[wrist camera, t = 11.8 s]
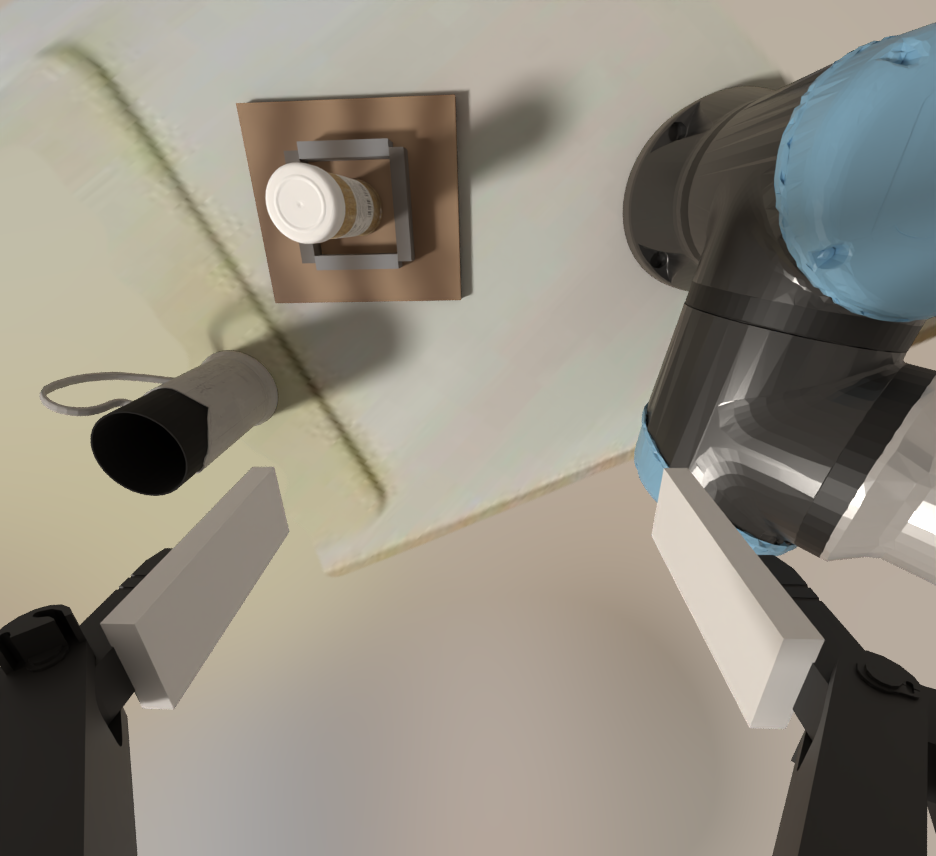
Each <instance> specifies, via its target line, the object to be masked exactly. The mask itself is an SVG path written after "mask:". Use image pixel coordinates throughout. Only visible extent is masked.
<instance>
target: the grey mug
mask: <svg viewBox="0 0 936 856" xmlns="http://www.w3.org/2000/svg"><path fill="white" fill-rule="evenodd" d="M100 380H131V381H144V382H153V383H162V385H160V386H158V387H156V388H154V389H152V390H150V391H148V392H147V393H146V394H144V395H143V396H142V397H141V398H138V399H137V400H134V401H131V400H127V399H114V400H111V401H108V402H106V403H103V404H100V405H97V406H93V407H68V406H63V405H60V404H57V403H55V402H53V401H51V400H50V399H49V398H48V397H47V396H46V395H47V394H48V393H50V392H52V391H54V390H56V389H59V388H62V387H66V386H69V385H72V384H77V383H83V382H89V381H100ZM40 400H41V402H42V404H43V405H44V406H46V407H47V408H48V409H50V410H52V411H54V412H57V413H60V414H65V415H72V416H89V415H94V414H99V413H102V412H105V411H107V410H109V409H111V408H114V407H118V406H122V407H121V408H118V409H116V410H115V411H112V412H110V413H109V414H107V415H105V416H103V417H102V418H100V419H99V420H98V421H97V422H96V424H95V426H94V427H93V429H92V433H91V448H92V451H93V454H94V457H95V459H96V460H97V462H98V464H99V465H100V467H101V468H102V469H103V471H104V472H105V473H106V474H107V475H109V477H110V478H112V479H113V480H114V481H115V482H117V483H118V484H120V485H122V486H123V487H125V488H127V489H129V490H131V491H133V492H137V493H140V494H144V495H151V496H152V495H153V496H159V495H165V494H169V493H171V492H173V491H175V490H177V489H178V488H179V487H180V486H181V485H182V484H183V483H185V482H186V481H187V480H188V479H189V478H191V477H192V476H193V475H194V474H195V473H200V472H201V471H202V470H203V469H204V468H206V467H207V466H208V465H209V464H210V463H211V462H213V461H214V460H215V459H216V458H217V457H218V456H220V455H221V454H222V453H223V452H224V451H225V450H227V449H228V448H229V447H230V446H231V445H232V444H233V443H235V442H236V441H237V440H238V439H239V438H240V437H242V436H243V435H244V434H245V433H246V432H247V431H249V430H250V429H251V428H252V427H253V426H257V425H260V424H262V423H264V422H265V421H267V420H268V419H269V418H270V417H271V416H272V415H273V413H274V412H275V409H276V407H277V403H278V392H277V387H276V384H275V381H274V380H273V378H272V376H271V374H270V373H269V372H268V370H267V369H266V368H265V367H264V366H263V365H262V364H261V363H260V362H258V361H257V360H256V359H254V358H253V357H251V356H249V355H247V354H244V353H241V352H237V351H220V352H217V353H214V354H212V355H210V356H209V357H207V358H206V359H205V360H204V361H203V363H202V364H201V365H200V366H198V367H196V368H194V369H192V370H190V371H188V372H186V373H184V374H182V375H180V376H178V377H176V378H172V377H162V376H154V375H145V374H135V373H123V372H103V373H91V374H83V375H77V376H72V377H67V378H64V379H61V380H57V381H54V382H52V383H50V384H48V385H46V386H44V387H43V389H42V390H41V392H40Z"/></svg>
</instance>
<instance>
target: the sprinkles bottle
mask: <svg viewBox="0 0 936 856" xmlns="http://www.w3.org/2000/svg"><path fill="white" fill-rule="evenodd" d="M266 206H267V210H268V213H269V215H270V218H271V220H272V221H273V223H274V224H275V226H276V227H277V228H278V230H279V231H280V232H281V233H283V234H284V235H285V236H286V237H288V238H289V239H291V240H293V241H296V242H299V243H304V244H314V243H321V242H325V241H327V240H329V239H336V238H344V237H353V236H365V235H368V234H370V233H372V232H374V231H375V229H376V228H377V227H378V226H379V224H380V222H381V219H382V214H383V212H382V204H381V199H380V197H379V195H378V193H377V192H376V190H375V189H374V188H373V187H371V185H370V184H368V183H366V182H364V181H362V180H358V179H356V180H355V179H350V178H347V177H344V176H340V175H337V174H333V173H329V172H326V171H324V170H323V169H321V168H319V167H317V166H314V165H310V164H306V163H299V162H294V163H288V164H285V165H283V166H281V167H279V168H278V169H277V170H276V171H275V172H274V173H273V174H272V176H271V177H270V179H269V181H268V184H267V188H266Z"/></svg>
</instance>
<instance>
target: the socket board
mask: <svg viewBox="0 0 936 856" xmlns="http://www.w3.org/2000/svg"><path fill="white" fill-rule="evenodd" d="M236 105H237V111H238V116H239V121H240V126H241V131H242V136H243V141H244V146H245V151H246V156H247V161H248V166H249V171H250V176H251V181H252V186H253V191H254V196H255V201H256V206H257V212H258V217H259V222H260V227H261V232H262V237H263V242H264V247H265V252H266V257H267V262H268V267H269V272H270V277H271V282H272V287H273V292H274V297H275V302H276V303H313V302H373V301H433V300H461V269H460V234H459V199H458V164H457V129H456V97H455V95H430V96H406V97H381V98H356V99H332V100H307V101H283V102H258V103H236ZM294 162H299V163H306V164H310V165H314V166H317V167H319V168H321V169H323V170H324V171H326V172H329V173H333V174H337V175H340V176H344V177H347V178H350V179H355V180H356V179H358V180H362V181H364V182H366V183H368V184H370V185H371V187H373V188H374V189H375V190H376V192H377V193H378V195H379V197H380V199H381V204H382V212H383V214H382V219H381V222H380V224H379V226H378V227H377V228H376V229H375V231H374V232H372V233H370V234H368V235H365V236H353V237H344V238H336V239H329V240H327V241H325V242H321V243H314V244H304V243H299V242H296V241H293V240H291V239H289V238H288V237H286V236H285V235H284V234H283V233H281V232H280V231H279V230H278V228H277V227H276V226H275V224H274V223H273V221H272V220H271V218H270V215H269V213H268V210H267V206H266V188H267V184H268V181H269V179H270V177H271V176H272V174H273V173H274V172H275V171H276V170H277V169H278V168H279V167H281V166H283V165H285V164H288V163H294Z"/></svg>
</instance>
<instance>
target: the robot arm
mask: <svg viewBox="0 0 936 856" xmlns="http://www.w3.org/2000/svg"><path fill="white" fill-rule="evenodd" d="M623 224H624V231H625V235H626V239H627V242H628V245H629V247H630V250H631V252H632V254H633V255H634V257H635V259H636V260H637V262H638V263H639V264H640V266H641V267H642V268H643V269H644V270H645V271H646V272H647V273H648V274H650V275H651V276H652V277H654V278H655V279H657V280H658V281H660V282H662V283H664V284H666V285H669V286H672V287H675V288H678V289H681V290H685V291H689V293H688V296H687V298H686V301H685V303H684V306H683V309H682V311H681V314H680V317H679V320H678V323H677V325H676V328H675V331H674V334H673V336H672V339H671V342H670V345H669V347H668V350H667V353H666V356H665V358H664V361H663V364H662V367H661V370H660V372H659V375H658V378H657V381H656V383H655V386H654V389H653V392H652V394H651V397H650V400H649V402H648V403H647V405H646V406H645V407H644V410H643V413H642V427H641V430H640V434H639V437H638V441H637V444H636V448H635V453H634V461H635V465H636V468H637V470H638V474H639V478H640V480H641V482H642V484H643V485H644V487H645V488H646V490H647V491H648V493H649V494H650V495H651V496H652V498H653V499H654V500H655V501H656V502H657V508H656V514H655V519H654V524H653V530H652V535H651V536H652V538H653V540H654V542H655V544H656V546H657V548H658V549H659V552H660V553H661V555H662V557H663V559H664V561H665V563H666V565H667V567H668V569H669V571H670V573H671V575H672V577H673V579H674V581H675V583H676V585H677V587H678V589H679V591H680V592H681V595H682V596H683V598H684V600H685V602H686V604H687V606H688V608H689V610H690V612H691V614H692V616H693V618H694V620H695V622H696V624H697V626H698V628H699V629H700V632H701V634H702V636H703V638H704V640H705V642H706V643H707V645H708V647H709V649H710V651H711V653H712V655H713V657H714V659H715V661H716V663H717V665H718V667H719V669H720V671H721V673H722V675H723V677H724V679H725V680H726V683H727V684H728V686H729V688H730V690H731V692H732V694H733V696H734V698H735V700H736V702H737V704H738V706H739V708H740V710H741V712H742V714H743V716H744V718H745V720H746V722H747V724H748V726H749V727H750V728H768V729H769V728H770V729H786V727H787V725H788V722H789V720H790V718H791V716H792V714H793V711H794V712H795V714H796V716H797V717H798V719H799V720H800V722H801V724H802V725H803V727H804V728H805V731H804V734H803V736H802V738H801V740H800V742H799V744H798V746H797V749H796V751H795V753H794V755H793V757H792V760H791V761H793V762H794V763H795V765H794V770H793V773H792V778H791V782H790V786H789V790H788V794H787V798H786V803H785V806H784V810H783V814H782V818H781V822H780V827H779V831H778V835H777V839H776V843H775V847H774V851H773V855H772V856H927V806H928V810H929V813H930V816H931V819H932V823H933V826H934V829H935V832H936V689H932V688H929V687H925V686H922V685H920V684H919V682H918V681H917V680H916V679H915V677H913V676H912V675H911V674H910V673H909V672H907V671H906V670H905V669H904V668H902V667H901V666H900V665H898V664H896V663H894V662H893V661H891V660H889V659H887V658H885V657H884V656H881V655H878V654H875V653H872V652H869V651H865V650H864V649H863V648H862V647H861V646H860V644H858V642H857V641H856V640H855V639H854V637H853V636H852V635H851V634H850V633H849V632H848V631H847V629H846V628H845V627H844V626H843V625H842V624H841V623H840V621H839V620H838V619H837V618H836V617H835V616H834V615H833V613H832V612H831V611H830V610H829V609H828V608H827V606H825V604H824V603H823V602H822V601H819V598H818V597H817V595H816V594H815V593H814V592H813V590H812V589H811V588H808V586H807V584H806V582H805V581H804V580H803V579H802V578H801V577H800V576H799V574H798V573H797V572H796V571H795V570H794V569H793V568H792V567H790V566H789V565H787V564H786V563H785V562H783V561H781V560H780V559H779V558H777V557H776V556H779V555H782V554H784V553H786V552H788V551H790V550H793V549H795V548H796V547H797V546H798V547H800V548H802V549H804V550H806V551H808V552H810V553H812V554H814V555H815V556H817V557H819V558H821V559H823V560H825V561H834V560H843V559H852V558H860V557H873V558H881V559H883V560H885V561H887V562H889V563H891V564H893V565H895V566H897V567H899V568H901V569H903V570H906V571H908V572H909V573H911V574H914V575H916V576H918V577H920V578H922V579H924V580H926V581H928V582H930V583H932V584H934V585H936V371H935V370H931V369H927V368H923V367H919V366H915V365H911V364H907V363H905V362H904V361H903V359H904V357H905V355H906V352H907V351H908V350H909V348H910V346H911V345H912V343H913V341H914V340H915V338H916V336H917V335H918V333H919V331H920V329H921V328H922V326H923V324H924V323H925V321H926V320H927V319H929V318H932V317H935V316H936V23H932V24H930V25H927V26H924V27H921V28H918V29H915V30H912V31H909V32H906V33H904V34H901V35H897V36H889V37H885V38H883V39H882V40H881V41H873V42H870V43H868V44H866V45H863V46H860V47H858V48H857V49H856V50H853V51H851V52H849V53H847V54H846V55H845V56H844V57H842V58H841V59H840V60H838V61H835V62H834V63H833V64H831V65H828V66H826V67H824V68H823V69H820V70H818V71H816V72H814V73H812V74H810V75H808V76H805V77H803V78H801V79H799V80H797V81H795V82H793V83H791V84H789V85H786V86H784V87H782V88H780V89H778V90H772V89H768V88H763V87H756V86H743V87H734V88H729V89H724V90H720V91H717V92H714V93H712V94H709V95H707V96H705V97H703V98H701V99H699V100H697V101H695V102H693V103H692V104H690V105H688V106H686V107H685V108H683V109H682V110H680V111H679V112H677V113H676V114H674V115H673V116H672V117H671V118H669V119H668V120H667V121H666V122H665V123H664V124H663V125H662V126H661V127H660V128H659V129H658V130H657V131H656V132H655V133H654V134H653V135H652V137H651V138H650V139H649V140H648V142H647V143H646V144H645V146H644V148H643V149H642V151H641V152H640V154H639V156H638V158H637V159H636V161H635V164H634V166H633V168H632V170H631V173H630V176H629V179H628V182H627V186H626V190H625V194H624V201H623ZM288 533H289V528H288V524H287V520H286V515H285V511H284V507H283V502H282V498H281V494H280V490H279V485H278V481H277V477H276V473H275V468H274V467H252V468H251V469H250V470H249V471H248V472H247V473H246V474H245V475H244V476H243V477H242V478H241V479H240V480H239V481H238V482H237V483H236V484H235V485H234V486H233V487H232V488H231V489H230V490H229V491H228V492H227V493H226V494H225V495H224V497H223V498H222V499H221V500H220V501H219V502H218V503H217V504H216V505H215V506H214V507H213V508H212V509H211V510H210V511H209V512H208V513H207V514H206V515H205V516H204V517H203V518H202V519H201V520H200V521H199V522H198V523H197V524H196V526H194V527H193V528H192V529H191V530H190V531H189V532H188V534H187V535H186V536H185V537H184V538H183V539H182V540H181V541H180V542H179V543H178V544H177V545H176V546H175V547H174V548H171V549H170V548H165V549H163V550H162V551H160V552H159V553H157V554H156V555H154V556H152V557H151V558H149V559H148V560H146V561H145V562H144V563H143V564H142V565H141V566H140V567H139V568H138V569H137V570H136V571H135V572H134V573H133V574H132V575H131V578H128V579H126V581H125V582H123V583H122V584H121V586H119V589H118V590H115V591H114V592H113V593H112V594H111V595H110V596H109V597H108V598H107V599H106V600H105V601H104V602H103V603H102V604H101V605H100V606H99V607H98V608H97V609H96V610H95V611H94V612H93V613H92V614H91V615H90V616H89V617H88V618H87V619H86V620H85V621H84V622H83V623H82V624H81V625H80V626H79V624H78V622H77V620H76V618H75V617H74V615H73V613H72V611H71V609H70V607H67V606H64V605H49V606H46V607H42V608H38V609H35V610H32V611H30V612H28V613H26V614H24V615H21V616H19V617H17V618H16V619H15V620H13V621H11V622H10V623H8V624H7V625H5V626H4V627H2V629H0V856H137V844H136V830H135V818H134V817H135V816H134V802H133V789H132V774H131V761H130V747H129V734H128V720H127V715H126V713H125V711H124V708H123V706H124V705H125V703H126V702H127V701H128V699H129V698H130V697H131V695H132V694H133V693H134V692H135V694H136V696H137V698H138V700H139V702H140V704H141V706H142V708H149V709H174V708H175V707H176V705H177V704H178V702H179V701H180V699H181V698H182V696H183V695H184V693H185V692H186V690H187V689H188V687H189V685H190V684H191V682H192V681H193V679H194V678H195V676H196V675H197V673H198V672H199V670H200V668H201V667H202V665H203V664H204V662H205V661H206V659H207V658H208V656H209V655H210V653H211V652H212V650H213V649H214V647H215V645H216V644H217V642H218V641H219V639H220V638H221V636H222V635H223V633H224V632H225V630H226V628H227V627H228V625H229V624H230V622H231V621H232V619H233V618H234V616H235V615H236V613H237V612H238V610H239V609H240V607H241V605H242V604H243V602H244V601H245V599H246V598H247V596H248V595H249V593H250V591H251V590H252V589H253V587H254V585H255V584H256V582H257V581H258V579H259V578H260V576H261V575H262V573H263V572H264V570H265V568H266V567H267V565H268V564H269V562H270V561H271V559H272V558H273V556H274V555H275V553H276V552H277V550H278V549H279V547H280V545H281V544H282V542H283V541H284V539H285V538H286V536H287V534H288Z"/></svg>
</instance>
